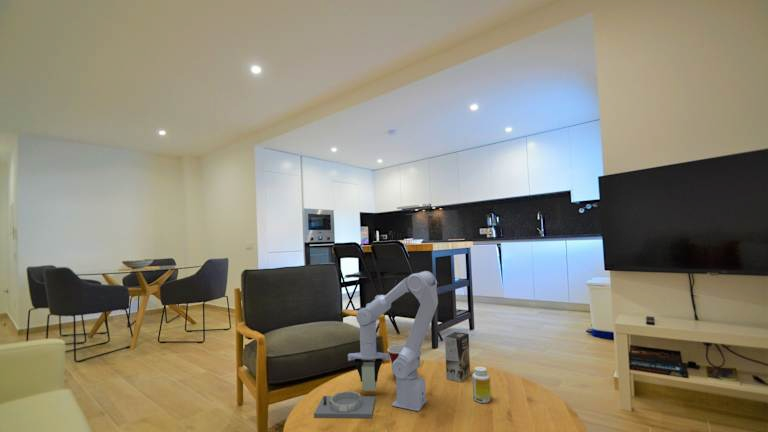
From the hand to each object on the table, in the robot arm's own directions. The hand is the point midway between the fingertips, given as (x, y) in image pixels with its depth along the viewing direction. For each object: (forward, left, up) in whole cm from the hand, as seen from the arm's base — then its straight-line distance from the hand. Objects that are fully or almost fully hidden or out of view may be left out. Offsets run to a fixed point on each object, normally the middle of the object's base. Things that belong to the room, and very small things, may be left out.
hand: (369, 380), depth 123 cm
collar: (+3, +12, -3) cm, 13 cm away
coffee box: (-25, -27, -5) cm, 37 cm away
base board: (+2, +12, -5) cm, 13 cm away
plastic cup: (-5, -17, -5) cm, 18 cm away
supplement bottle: (-37, -11, -5) cm, 39 cm away
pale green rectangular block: (0, 0, -2) cm, 2 cm away
